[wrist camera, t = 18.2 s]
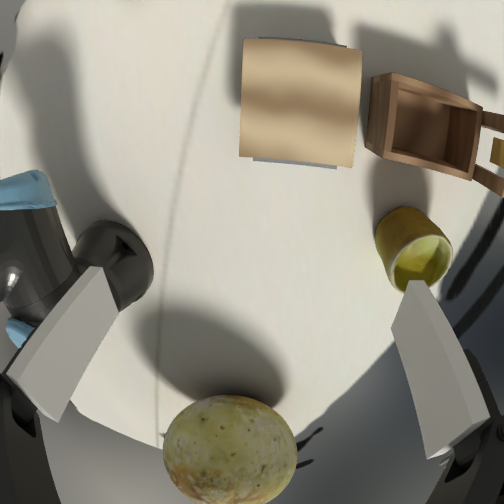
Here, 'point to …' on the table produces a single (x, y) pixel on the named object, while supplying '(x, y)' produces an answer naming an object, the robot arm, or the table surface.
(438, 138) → the toolbox
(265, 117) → the lid
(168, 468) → the speckled ball
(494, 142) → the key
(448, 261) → the mug
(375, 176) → the table surface
